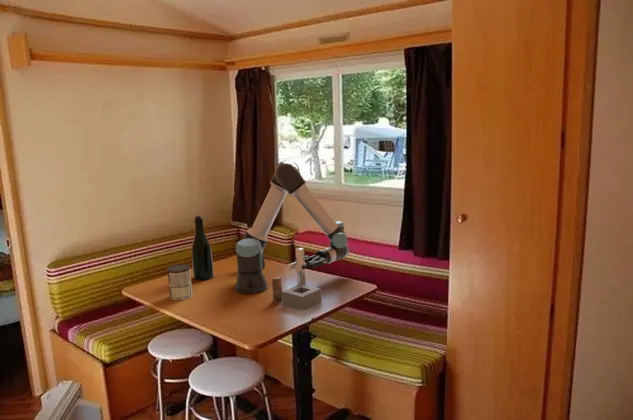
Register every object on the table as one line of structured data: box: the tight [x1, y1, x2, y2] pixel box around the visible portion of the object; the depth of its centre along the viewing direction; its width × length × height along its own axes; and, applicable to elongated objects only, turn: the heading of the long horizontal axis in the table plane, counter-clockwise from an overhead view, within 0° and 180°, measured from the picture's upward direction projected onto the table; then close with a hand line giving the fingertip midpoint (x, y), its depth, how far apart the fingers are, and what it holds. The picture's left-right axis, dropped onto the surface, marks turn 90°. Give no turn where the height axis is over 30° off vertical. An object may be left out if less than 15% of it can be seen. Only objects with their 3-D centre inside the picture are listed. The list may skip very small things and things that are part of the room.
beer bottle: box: [191, 215, 215, 281], centre depth 259 cm, size 10×10×33 cm
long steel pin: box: [295, 247, 307, 286], centre depth 234 cm, size 4×4×20 cm
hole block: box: [282, 284, 322, 311], centre depth 217 cm, size 12×12×6 cm
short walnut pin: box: [271, 276, 283, 303], centre depth 223 cm, size 4×4×10 cm
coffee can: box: [166, 263, 194, 301], centre depth 233 cm, size 10×10×14 cm
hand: (292, 268), depth 229 cm, fingers closed on long steel pin, 4 cm apart
